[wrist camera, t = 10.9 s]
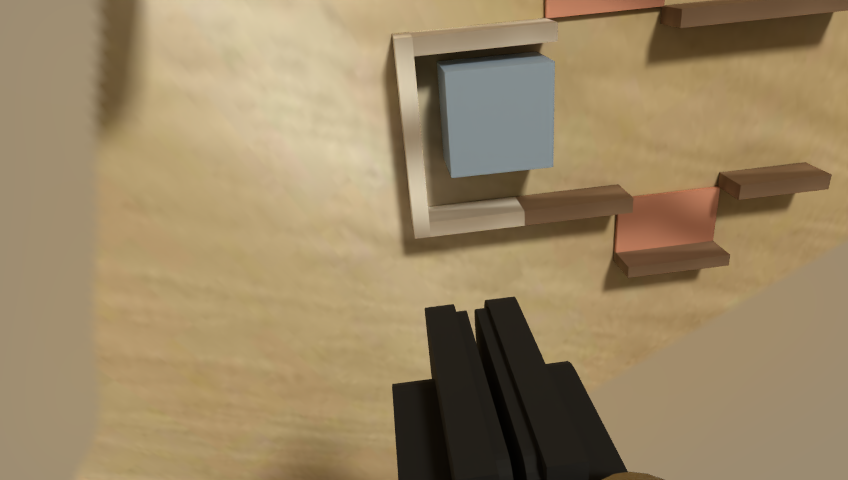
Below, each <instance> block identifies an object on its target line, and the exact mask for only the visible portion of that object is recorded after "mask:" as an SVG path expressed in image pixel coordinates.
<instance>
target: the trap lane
mask: <svg viewBox="0 0 848 480" xmlns="http://www.w3.org/2000/svg"><path fill="white" fill-rule="evenodd" d="M664 1H665V0H545V18H540V19H530V20H520V21H511V22H501V23H492V24H482V25H473V26H463V27H453V28H444V29H434V30H425V31H415V32H405V33H396V34H392V40H393V50H394V59H395V68H396V78H397V87H398V97H399V106H400V115H401V125H402V134H403V143H404V153H405V162H406V172H407V181H408V190H409V200H410V209H411V218H412V226H413V231H414V237H415V239H417V238H426V237H434V236H442V235H451V234H459V233H467V232H476V231H484V230H492V229H501V228H509V227H517V226H526V225H534V224H542V223H551V222H559V221H567V220H575V219H584V218H592V217H600V216H609V215H616V232H615V248H614V262H615V263H616V264H617V265H618V267H619V268H620V269H621V270H622V271H623V273H624V274H625V275H626V276H627V277H628V278H631V277H639V276H647V275H655V274H663V273H671V272H679V271H687V270H695V269H703V268H711V267H719V266H727V265H729V259H730V254H728V253H727V252H726V251H725V250H724V249H722V248H721V247H720V246H719V245H717V244H716V243H715V242H714V241H713V236H714V229H715V221H716V214H717V207H718V200H719V193H720V188H721V189H723V190H724V191H726V192H727V193H729V194H730V195H732V196H733V197H735V198H737V199H738V200H742V199H750V198H758V197H767V196H775V195H783V194H792V193H800V192H808V191H817V190H825V189H828V188H829V184H830V179H831V174H829V173H827V172H825V171H823V170H821V169H818V168H816V167H814V166H812V165H810V164H808V163H796V164H788V165H779V166H771V167H762V168H754V169H745V170H737V171H728V172H720V174H719V181H718V186H717V187H709V188H700V189H692V190H683V191H675V192H667V193H658V194H650V195H641V196H633V197H632V196H631V195H630V194H628V193H627V192H626V191H625V190H624V189H623V188H622V187H621V186H619V185H610V186H601V187H593V188H584V189H576V190H567V191H559V192H550V193H542V194H533V195H525V196H516V197H508V198H499V199H491V200H482V201H474V202H466V203H457V204H449V205H440V206H432V207H428V202H427V191H426V181H425V170H424V159H423V148H422V137H421V126H420V116H419V105H418V94H417V83H416V72H415V62H414V56H423V55H432V54H441V53H451V52H460V51H470V50H479V49H489V48H498V47H507V46H517V45H526V44H536V43H545V42H554V41H558V22H556V21H553V20H550V19H547V18H555V17H565V16H574V15H584V14H594V13H603V12H613V11H622V10H632V9H641V8H651V7H661V6H662V9H661V21H660V24H664V25H669V26H673V27H678V28H686V27H696V26H705V25H715V24H724V23H733V22H743V21H752V20H762V19H771V18H780V17H790V16H799V15H809V14H818V13H828V12H837V11H846V10H848V0H712V1H703V2H693V3H684V4H674V5H664Z"/></svg>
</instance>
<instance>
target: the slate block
mask: <svg viewBox="0 0 848 480" xmlns="http://www.w3.org/2000/svg"><path fill="white" fill-rule="evenodd" d="M437 72H438V86H439V100H440V115H441V129H442V144H443V158H444V161H445V163H446V166H447V168H448V171H449V173H450V176H451V178H457V177H466V176H475V175H484V174H493V173H503V172H512V171H521V170H530V169H540V168H549V167H553V145H554V77H555V61H553V60H551V59H549V58H547V57H546V56H544V55H542V54H540V53H538V52H526V53H516V54H506V55H496V56H486V57H475V58H465V59H455V60H445V61H437Z"/></svg>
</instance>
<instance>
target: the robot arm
mask: <svg viewBox="0 0 848 480" xmlns="http://www.w3.org/2000/svg"><path fill="white" fill-rule="evenodd" d="M425 317H426V327H427V336H428V346H429V356H430V365H431V375H432V379H428V380H420V381H413V382H405V383H397V384H392V390H393V406H394V421H395V435H396V450H397V465H398V480H664V479H662V478H659V477H655V476H653V475H650V474H646V473H637V472H628V471H627V469H626V467H625V465H624V463H623V461H622V460H621V458H620V456H619V454H618V452H617V450H616V448H615V446H614V444H613V442H612V440H611V438H610V436H609V434H608V432H607V431H606V429H605V427H604V425H603V423H602V421H601V419H600V417H599V415H598V413H597V411H596V409H595V407H594V405H593V403H592V401H591V399H590V398H589V396H588V394H587V392H586V390H585V388H584V386H583V384H582V382H581V380H580V378H579V376H578V374H577V372H576V370H575V368H574V367H573V365H572V364H571V363H570V362H568V361H565V362H558V363H550V364H545V362H544V360H543V357H542V355H541V353H540V351H539V348H538V346H537V344H536V342H535V339H534V337H533V335H532V333H531V331H530V328H529V326H528V324H527V322H526V319H525V317H524V315H523V313H522V311H521V308H520V306H519V304H518V302H517V300H516V298H515V297H507V298H499V299H491V300H485V304H484V308H482V309H475V330H476V341H475V338H474V334H473V331H472V328H471V324H470V321H469V317H468V314H467V311H458V312H456V310H455V306H454V304H452V305H444V306H436V307H428V308H425Z"/></svg>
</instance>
